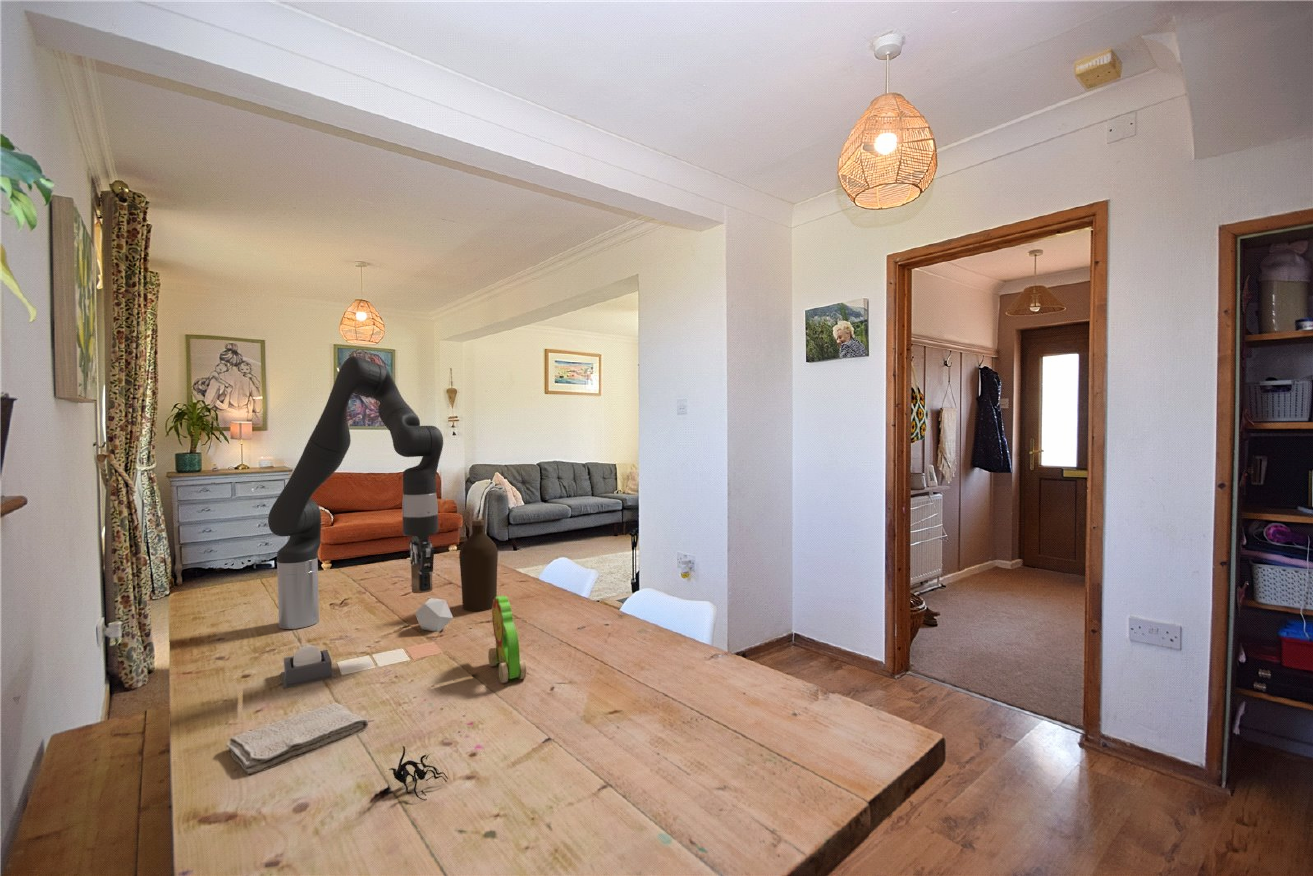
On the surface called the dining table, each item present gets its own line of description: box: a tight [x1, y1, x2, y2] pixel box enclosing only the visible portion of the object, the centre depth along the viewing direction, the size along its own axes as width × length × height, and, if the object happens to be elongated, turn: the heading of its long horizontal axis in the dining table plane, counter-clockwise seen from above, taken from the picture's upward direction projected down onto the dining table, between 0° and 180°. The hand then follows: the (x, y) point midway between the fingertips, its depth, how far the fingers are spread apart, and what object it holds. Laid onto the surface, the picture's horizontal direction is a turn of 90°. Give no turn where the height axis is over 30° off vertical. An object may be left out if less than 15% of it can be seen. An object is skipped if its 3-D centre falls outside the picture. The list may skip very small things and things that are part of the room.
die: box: [414, 597, 454, 633], centre depth 152 cm, size 8×9×10 cm
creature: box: [388, 745, 449, 801], centre depth 86 cm, size 8×5×8 cm
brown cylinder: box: [410, 563, 433, 594], centre depth 136 cm, size 4×4×6 cm
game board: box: [336, 641, 444, 676], centre depth 132 cm, size 10×22×1 cm, turn 124°
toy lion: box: [487, 595, 527, 684], centre depth 127 cm, size 16×5×15 cm, turn 27°
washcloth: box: [225, 702, 369, 774], centre depth 99 cm, size 12×18×3 cm, turn 141°
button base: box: [280, 649, 336, 689], centre depth 123 cm, size 9×9×4 cm
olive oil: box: [458, 518, 499, 612], centre depth 172 cm, size 11×11×25 cm
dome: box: [293, 644, 321, 668], centre depth 123 cm, size 5×5×6 cm
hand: (422, 587), depth 136 cm, fingers closed on brown cylinder, 4 cm apart
